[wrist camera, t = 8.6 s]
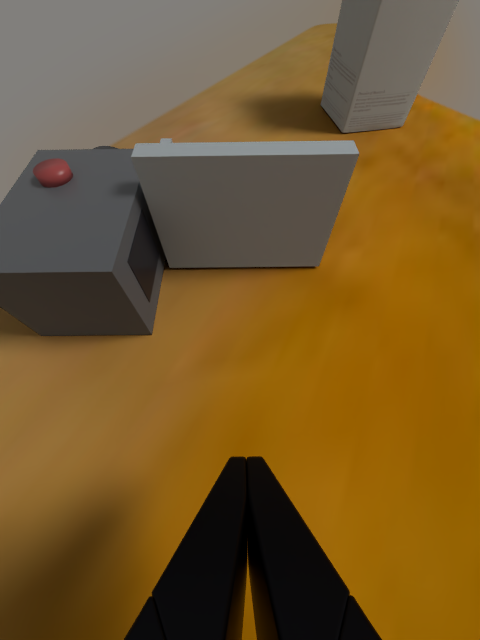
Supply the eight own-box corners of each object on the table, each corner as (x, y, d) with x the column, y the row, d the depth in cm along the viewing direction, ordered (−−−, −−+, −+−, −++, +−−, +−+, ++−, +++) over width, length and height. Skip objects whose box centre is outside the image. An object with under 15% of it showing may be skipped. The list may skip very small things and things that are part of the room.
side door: (318, 266, 19) (359, 153, 13) (168, 267, 19) (128, 156, 13) (306, 207, 23) (333, 94, 16) (178, 209, 23) (151, 96, 16)
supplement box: (404, 128, 30) (497, -74, 19) (340, 135, 29) (398, -70, 18) (375, 99, 33) (439, -84, 23) (318, 104, 33) (356, -81, 22)
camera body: (152, 334, 17) (106, 262, 11) (41, 335, 17) (-61, 263, 11) (174, 211, 23) (152, 123, 17) (92, 212, 23) (42, 124, 17)
